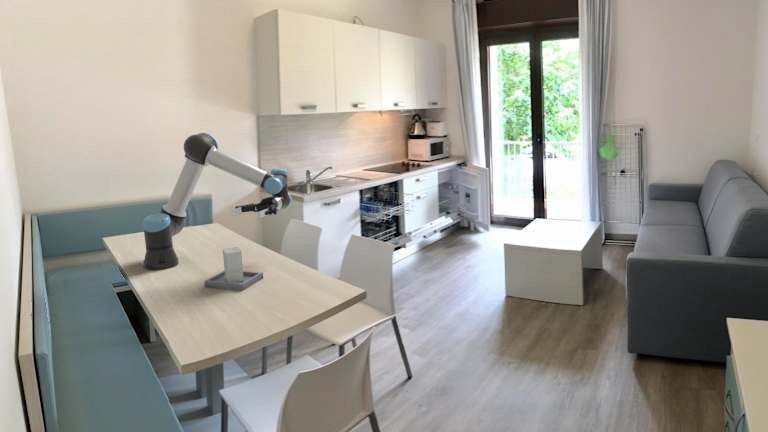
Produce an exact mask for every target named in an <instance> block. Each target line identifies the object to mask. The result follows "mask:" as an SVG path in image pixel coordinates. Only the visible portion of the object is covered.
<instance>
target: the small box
mask: <svg viewBox="0 0 768 432" xmlns="http://www.w3.org/2000/svg"><path fill="white" fill-rule="evenodd" d="M222 254H223V255H222V256H223V267H224V269H223V271H225V279H226V280H227V282H233V283H236V282H242V281H244V278H243V271H244V270H243V269H244V267H243V255H242V250H241V249H240V248H239V247H238V246H236V247H228V248H223V249H222Z"/></svg>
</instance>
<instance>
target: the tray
mask: <svg viewBox="0 0 768 432" xmlns="http://www.w3.org/2000/svg"><path fill="white" fill-rule="evenodd" d="M243 278H244V281H242V282H236V283H233V282H227V280H226V279H225V270H223V271H221V272H219V273H217V274H214V275H213V276H211V277H209V278H207V279H205V280H204V288H205V287H206V288H213V289H224V290H225V289H226V290H236V291H245V290H247V289H248V288H250V287H251V286H254V284H256V283H258V282H259V281H261V280H263V279H264V272H261V271H249V270H248V271H247V270H243Z"/></svg>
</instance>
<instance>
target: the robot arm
mask: <svg viewBox="0 0 768 432" xmlns="http://www.w3.org/2000/svg"><path fill="white" fill-rule="evenodd" d="M183 151H184V153H185V154H184V158H185V162H184V165H183V167H182V169H181V172H180V174H179V175H178V179H177V181H176V184H175V186H174V188H173V190H172V192H171V195H170V197H169V199H168V201H167V204H162V205H163V206H162V207H161V210H160V211H159V213H153V214H150V215H148V216H146V217H144V219H143V222H142V224H143V225H142V228H143V234H144V244H145V256H144V259H143V267H145V268H144V269H146V268H147V269H146V270H151V269H153V270H156V271H157V270H164V269H169V268H173V267H175V266H178V265H179V257H178V256H177V253H176V251H175V248H174V245H173V237H174V236H176V235H178V234H179V233H180V232H181V231H182V230H183V228H184V227H185V224H186V221H185V220H186V217H187V212H186V209H187V207H188V204H189V202H190V200H191V197H192V196H193V193H194V191H195V189H196V186H197V184H198V182H199V180H200V177H201V175H202V172H203V171H204V169H205V168H206V167H208V166H209V165H210V166H212V167H214V168H217V170H218V169H219V170H221V171H223V172H225V173H228V174H230V175H232V176H234V177H236V178H239V179H241V180H243V181H245V182H248V183H250V184H252V185H254V186H256V187H259V188H261V189H263V190H265V192H266V193H267V194H270V196H268V197H265V198H262V199H261V201H260V202H258V203H249V204H243V205H236V206H235V208H233V209H231V216H232V217H234V216H237V215H241V214H242V213H248V212H254V213H259V218H260V219H262V218H264V217H267V216H271V215H277V213H278V211H281V210H282V209H287V208H288V207H289V206H291V204H292V201H293V198H292V196H291V194H290V193H289V189H288V186H289V185H288V171H287V169H286V168H282V167H281V168H280V167H279V168H272V169H270V170H271V171H270V173H269V172H267V171H265V170H263V169H260V168H259V167H256V166H253V164H249V163H248V162H245V161H243V160H241V159H239V158H236V157H234V156H232V155H230V154H228V153H226V152H223V151H220V150H219V143H218V141H217V139H216V137H214V136H213V135H211V134H210V133H208V132H207V133H205V132H199V133H197V134H192V135H190V136H188V137H187V138H186V139H185V141H184V142H183ZM153 270H152V271H153Z"/></svg>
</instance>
